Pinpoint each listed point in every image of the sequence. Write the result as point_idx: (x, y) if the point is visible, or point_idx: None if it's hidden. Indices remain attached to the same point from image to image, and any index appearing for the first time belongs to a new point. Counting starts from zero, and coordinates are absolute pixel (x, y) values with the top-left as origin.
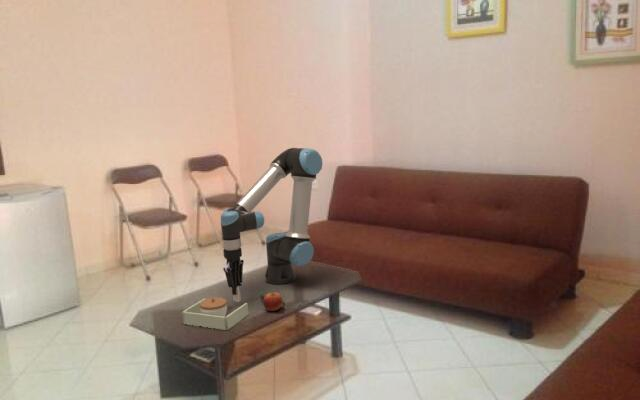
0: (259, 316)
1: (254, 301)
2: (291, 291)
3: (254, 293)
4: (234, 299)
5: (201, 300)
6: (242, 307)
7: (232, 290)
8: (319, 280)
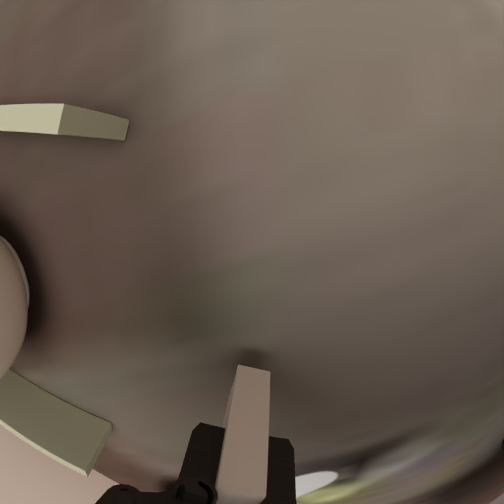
0: (114, 460)
1: (318, 437)
2: (414, 493)
3: (457, 391)
4: (232, 386)
5: (14, 112)
6: (41, 448)
7: (183, 462)
8: (472, 495)
